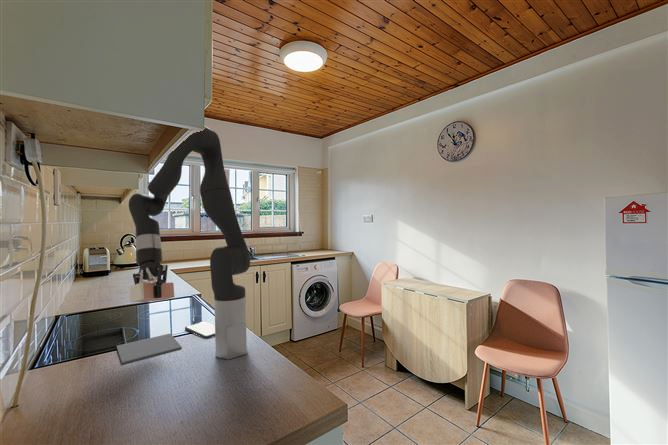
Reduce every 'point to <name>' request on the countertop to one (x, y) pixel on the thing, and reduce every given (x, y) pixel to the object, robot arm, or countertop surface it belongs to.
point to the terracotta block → (150, 292)
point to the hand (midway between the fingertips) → (151, 299)
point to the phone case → (202, 329)
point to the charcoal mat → (147, 348)
